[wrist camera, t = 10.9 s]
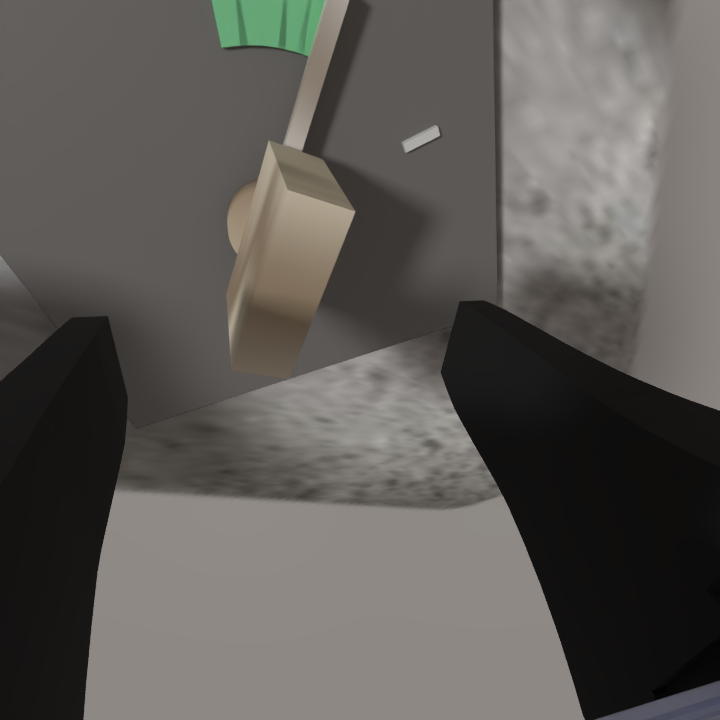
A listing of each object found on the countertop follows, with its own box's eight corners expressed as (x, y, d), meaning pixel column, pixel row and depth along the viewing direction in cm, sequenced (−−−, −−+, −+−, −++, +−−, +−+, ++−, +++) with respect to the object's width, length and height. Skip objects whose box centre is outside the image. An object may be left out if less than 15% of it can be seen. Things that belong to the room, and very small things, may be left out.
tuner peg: (283, 292, 17) (306, 381, 14) (210, 275, 16) (212, 367, 13) (383, 6, 13) (457, 21, 9) (290, -43, 12) (330, -49, 8)
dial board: (138, 411, 21) (135, 432, 20) (-151, 25, 12) (-182, 29, 11) (487, 299, 22) (500, 313, 21) (473, -141, 13) (494, -150, 12)
